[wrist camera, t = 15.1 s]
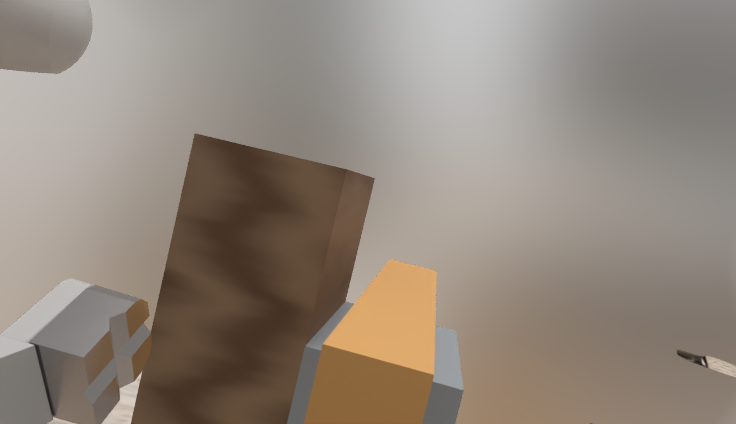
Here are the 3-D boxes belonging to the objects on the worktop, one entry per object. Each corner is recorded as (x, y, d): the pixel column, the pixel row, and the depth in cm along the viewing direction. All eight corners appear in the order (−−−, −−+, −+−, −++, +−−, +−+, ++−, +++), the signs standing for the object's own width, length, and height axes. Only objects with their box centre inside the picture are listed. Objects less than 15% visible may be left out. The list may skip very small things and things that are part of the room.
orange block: (296, 452, 17) (322, 343, 17) (378, 304, 41) (390, 259, 41) (406, 485, 17) (434, 374, 17) (425, 317, 41) (436, 271, 40)
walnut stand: (88, 613, 29) (194, 133, 28) (189, 493, 41) (267, 152, 40) (230, 663, 28) (346, 169, 27) (291, 526, 40) (374, 178, 39)
